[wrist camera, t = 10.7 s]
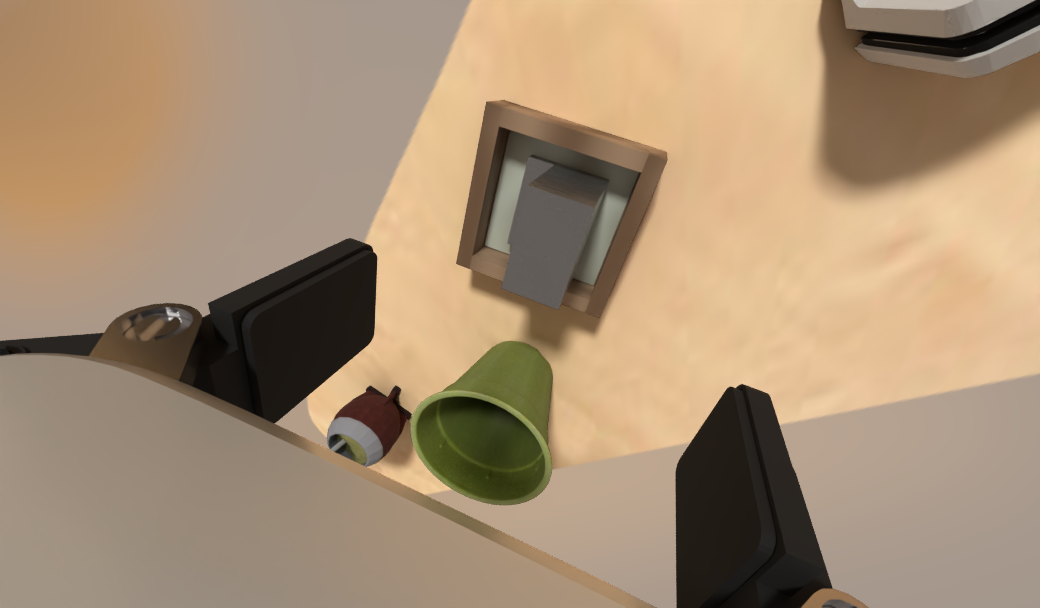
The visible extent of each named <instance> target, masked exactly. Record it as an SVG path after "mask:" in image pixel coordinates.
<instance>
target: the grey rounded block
mask: <svg viewBox="0 0 1040 608" xmlns="http://www.w3.org/2000/svg"><path fill="white" fill-rule="evenodd" d="M842 6H843V12H844V18H845V25H846V29H857V31H862V32H868V33H867V34H866V35H864V36H863V37H862V38H861V40H862V43H861V44H859V45H858V46H857V47H855V49H856V50H857V51H858V52H859V53H860V55H861V56H862V57H864V58H865V59H866V60H867V61H870V62H876V63H881V64H887V65H893V66H898V67H904V68H909V69H915V70H921V71H926V72H932V73H938V74H943V75H949V76H955V77H960V78H972V77H978V76H982V75H986V74H989V73H992V72H994V71H996V70H999V69H1001V68H1003V67H1006V66H1008V65H1010V64H1012V63H1015V62H1017V61H1019V60H1022V59H1024V58H1026V57H1028V56H1031V55H1033V54H1035V53H1038V52H1040V0H842Z"/></svg>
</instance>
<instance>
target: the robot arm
mask: <svg viewBox="0 0 1040 608" xmlns="http://www.w3.org/2000/svg"><path fill="white" fill-rule="evenodd" d="M376 277H377V255H376V254H375V253H374V252H373V249H372V247H371V246H370V245H368V244H365V243H362V242H360V241H357V240H354V239H351V238H349V239H346V240H344V241H341V242H339V243H338V244H335V245H333V246H331V247H328V248H326V249H324V250H322V251H320V252H318V253H316V254H313V255H311V256H309V257H307V258H305V259H303V260H300V261H298V262H296V263H294V264H292V265H290V266H288V267H285V268H283V269H281V270H279V271H277V272H275V273H272V274H270V275H268V276H266V277H264V278H261V279H259V280H257V281H255V282H253V283H251V284H249V285H246V286H245V287H242V288H240V289H238V290H236V291H233V292H231V293H229V294H227V295H225V296H223V297H220V298H218V299H216V300H214V301H212V302H210V303H208V305H209V310H210V314H209V315H207V316H205V317H203V318H202V315H201V314H200V312H199V311H198V310H197V309H195V308H193V307H191V306H187V305H183V304H175V303H163V304H153V305H148V306H144V307H139V308H136V309H134V310H131V311H128V312H126V313H124V314H123V315H121V316H119V317H117V318H116V319H115V320H114V321H113V322H112V323H111V324H110V325H109V326H108V328H107V329H106V331H105V332H104V333H99V334H85V335H72V336H58V337H45V338H33V339H19V340H6V341H0V608H656V607H654V606H652V605H650V604H648V603H646V602H644V601H642V600H640V599H638V598H636V597H634V596H632V595H630V594H628V593H626V592H624V591H622V590H620V589H619V588H616V587H615V586H613V585H611V584H609V583H607V582H605V581H602V580H600V579H598V578H596V577H594V576H592V575H590V574H588V573H586V572H584V571H582V570H580V569H577V568H575V567H573V566H571V565H569V564H567V563H565V562H563V561H561V560H559V559H557V558H555V557H553V556H550V555H548V554H546V553H545V552H542V551H540V550H538V549H536V548H534V547H532V546H530V545H528V544H526V543H524V542H522V541H520V540H518V539H515V538H513V537H511V536H509V535H507V534H505V533H503V532H501V531H499V530H497V529H495V528H493V527H491V526H489V525H487V524H484V523H482V522H480V521H478V520H476V519H474V518H472V517H470V516H468V515H466V514H464V513H461V512H459V511H457V510H455V509H453V508H451V507H449V506H447V505H445V504H442V503H440V502H438V501H436V500H434V499H432V498H430V497H428V496H426V495H424V494H422V493H420V492H418V491H415V490H413V489H411V488H409V487H407V486H405V485H403V484H401V483H399V482H397V481H394V480H392V479H390V478H388V477H386V476H384V475H382V474H380V473H378V472H376V471H373V470H371V469H369V468H367V467H365V466H363V465H361V464H359V463H357V462H354V461H352V460H350V459H348V458H346V457H344V456H342V455H340V454H338V453H335V452H333V451H331V450H329V449H327V448H325V447H323V446H320V445H318V444H316V443H314V442H312V441H310V440H308V439H306V438H303V437H301V436H299V435H297V434H295V433H293V432H290V431H289V430H286V429H284V428H282V427H280V426H278V425H276V424H274V423H276V422H277V421H278V420H280V419H281V418H282V417H283V416H284V415H286V414H287V413H288V412H289V411H290V410H291V409H293V408H294V407H295V406H296V405H297V404H299V403H300V402H301V401H302V400H303V399H304V398H306V397H307V396H308V395H309V394H310V393H312V392H313V391H314V390H315V389H316V388H318V387H319V386H320V385H321V384H322V383H324V382H325V381H326V380H327V379H328V378H329V377H331V376H332V375H333V374H334V373H335V372H337V371H338V370H339V369H340V368H341V367H343V366H344V365H345V364H346V363H347V362H348V361H350V360H351V359H352V358H353V357H354V356H356V355H357V354H358V353H359V352H360V351H361V350H363V349H364V348H365V347H366V346H367V345H368V344H369V343H370V342H371V341H372V339H373V336H374V329H375V303H376ZM676 583H677V584H676V586H677V608H869V607H867V606H866V605H865V604H864V603H862V602H861V601H859V600H857V599H856V598H854V597H852V596H851V595H849V594H847V593H844V592H841V591H839V590H836V589H833V588H832V585H831V582H830V579H829V576H828V573H827V570H826V566H825V563H824V560H823V557H822V554H821V551H820V548H819V544H818V542H817V538H816V535H815V532H814V529H813V526H812V523H811V519H810V516H809V513H808V510H807V507H806V504H805V501H804V498H803V494H802V491H801V488H800V485H799V482H798V479H797V476H796V473H795V471H794V469H793V467H792V464H791V461H790V457H789V454H788V451H787V448H786V445H785V442H784V438H783V435H782V432H781V429H780V426H779V423H778V420H777V416H776V413H775V410H774V407H773V404H772V401H771V397H770V396H769V394H767V393H765V392H762V391H760V390H757V389H754V388H751V387H749V386H746V385H743V384H741V385H739V386H737V388H734V387H729V388H727V390H726V391H725V392H724V394H723V395H722V397H721V398H720V400H719V401H718V403H717V404H716V406H715V407H714V409H713V410H712V412H711V413H710V415H709V416H708V418H707V419H706V421H705V422H704V424H703V425H702V427H701V428H700V430H699V431H698V433H697V434H696V436H695V437H694V439H693V440H692V441H691V443H690V444H689V446H688V447H687V449H686V451H685V452H684V453H683V455H682V457H681V458H680V460H679V462H678V464H677V468H676Z"/></svg>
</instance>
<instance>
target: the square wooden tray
mask: <svg viewBox="0 0 1040 608" xmlns="http://www.w3.org/2000/svg"><path fill="white" fill-rule="evenodd" d="M532 154H533V155H536V156H539V157H542V158H545V159H548V160H551V161H554V162H557V163H560V164H563V165H566V166H569V167H572V168H575V169H578V170H582V171H585V172H588V173H591V174H594V175H597V176H600V177H603V178H606V179H609V183H608V185H607V188H606V191H605V194H604V196H603V199H602V202H601V205H600V207H599V210H598V213H597V216H596V219H595V221H594V224H593V227H592V230H591V232H590V235H589V238H588V241H587V244H586V246H585V249H584V252H583V255H582V257H581V260H580V263H579V265H578V268H577V270H576V272H575V274H574V276H573V279H572V281H571V283H570V285H569V287H568V290H567V292H566V294H565V296H564V298H563V301H562V303H561V304H563V305H566V306H568V307H571V308H574V309H576V310H579V311H581V312H584V313H587V314H589V315H592V316H595V317H597V318H600V315H601V313H602V311H603V308H604V306H605V304H606V301H607V299H608V297H609V294H610V292H611V290H612V287H613V285H614V283H615V281H616V278H617V276H618V274H619V271H620V269H621V267H622V264H623V262H624V260H625V257H626V255H627V253H628V250H629V248H630V246H631V243H632V241H633V239H634V236H635V234H636V232H637V230H638V227H639V225H640V223H641V220H642V218H643V216H644V213H645V211H646V209H647V206H648V204H649V202H650V199H651V197H652V195H653V192H654V190H655V188H656V186H657V183H658V181H659V179H660V176H661V174H662V172H663V169H664V167H665V165H666V162H667V152H665V151H662V150H659V149H656V148H652V147H649V146H646V145H643V144H640V143H637V142H634V141H630V140H627V139H624V138H621V137H618V136H615V135H612V134H608V133H605V132H602V131H599V130H596V129H593V128H590V127H586V126H583V125H580V124H577V123H574V122H571V121H568V120H564V119H561V118H558V117H555V116H552V115H549V114H546V113H542V112H539V111H536V110H533V109H530V108H527V107H524V106H520V105H517V104H514V103H511V102H508V101H505V100H501V101H490V102H486V106H485V111H484V117H483V122H482V128H481V133H480V138H479V144H478V149H477V155H476V160H475V165H474V171H473V176H472V182H471V187H470V192H469V198H468V203H467V209H466V214H465V219H464V225H463V230H462V235H461V241H460V246H459V252H458V257H457V262H456V264H458V265H460V266H463V267H466V268H468V269H471V270H474V271H476V272H479V273H482V274H484V275H487V276H489V277H492V278H495V279H497V280H500V281H503V279H504V275H505V272H506V268H507V264H508V260H509V256H510V252H511V248H512V245H510V244H507V241H508V237H509V233H510V229H511V225H512V221H513V217H514V213H515V209H516V205H517V201H518V197H519V193H520V189H521V184H522V180H523V176H524V172H525V168H526V164H527V160H528V156H530V155H532Z"/></svg>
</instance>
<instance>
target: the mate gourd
mask: <svg viewBox="0 0 1040 608" xmlns="http://www.w3.org/2000/svg"><path fill="white" fill-rule="evenodd" d="M400 390H401V389H400V388H399V387H398V386H395V387H394V388H393V389H392V391H391V393H390V394H389V396H388V397H387V396H385V395H384V394H382V393H381V392H379V391H378V390H376V389H375V388H373V387H372V386H369V387H368V388H367V389H366V391H367V392H365V393H364V394H362V395H360V396H358V397H356V398H355V399H353V400H352V401H351V402H350V403H348V404H347V405H345V406H344V407H343V408H342V409H341V410H340V411H339V412H338V413H337V414H336V416H335V418H334V420H333V421H332V422H331V424H330V427H329V429H328V434H327V443H328V447H329V449H330V450H331V451H333V452H335V453H338V454H340V455H342V456H344V457H346V458H348V459H350V460H352V461H354V462H357V463H359V464H361V465H363V466H365V467H367V466H370V465H373V464H375V463H377V462H379V461H380V460H381V459H382V458H383V457H384V456H385V455H386V454H387V453H388V452H389V451H390V449H391V447H392V446H393V445H394V443H395V442H396V441H397V439H398V437H399V436H400V434H401V433H402V430H403V427H404V424H405V421H406V419H407V420H409V419H410V417H411V413H410V412H408V411H407V410H406V409H404V408H403V407H401V406H400V405H398V404H397V403H396V402H395V399H396V397H397V395H398V394H399V392H400Z"/></svg>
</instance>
